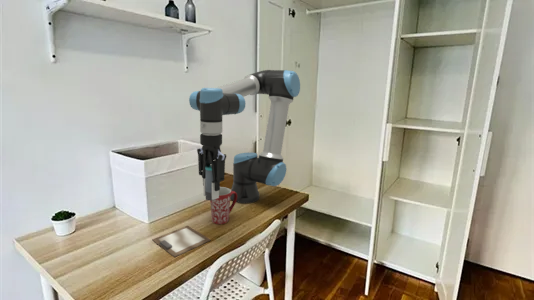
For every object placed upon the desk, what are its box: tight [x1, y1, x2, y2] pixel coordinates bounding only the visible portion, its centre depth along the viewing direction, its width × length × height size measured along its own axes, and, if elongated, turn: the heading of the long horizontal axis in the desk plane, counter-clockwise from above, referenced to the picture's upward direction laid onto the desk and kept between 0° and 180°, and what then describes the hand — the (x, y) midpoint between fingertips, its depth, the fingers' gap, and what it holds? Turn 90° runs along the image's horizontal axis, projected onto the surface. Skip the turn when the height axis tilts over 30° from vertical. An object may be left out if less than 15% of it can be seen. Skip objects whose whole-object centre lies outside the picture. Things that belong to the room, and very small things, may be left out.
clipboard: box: [152, 225, 211, 258], centre depth 108 cm, size 15×15×1 cm
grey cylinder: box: [205, 165, 217, 201], centre depth 105 cm, size 4×4×12 cm
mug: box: [209, 186, 237, 225], centre depth 124 cm, size 13×9×14 cm
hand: (211, 196), depth 107 cm, fingers closed on grey cylinder, 4 cm apart
